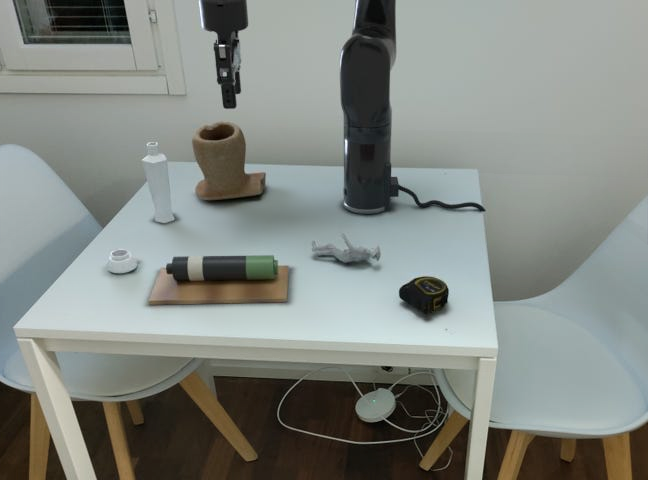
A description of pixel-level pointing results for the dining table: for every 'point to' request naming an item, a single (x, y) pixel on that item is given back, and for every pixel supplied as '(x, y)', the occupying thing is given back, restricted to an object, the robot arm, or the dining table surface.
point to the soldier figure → (347, 251)
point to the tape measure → (425, 294)
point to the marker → (223, 268)
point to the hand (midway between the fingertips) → (232, 100)
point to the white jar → (121, 261)
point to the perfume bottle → (158, 183)
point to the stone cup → (224, 163)
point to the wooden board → (219, 290)
